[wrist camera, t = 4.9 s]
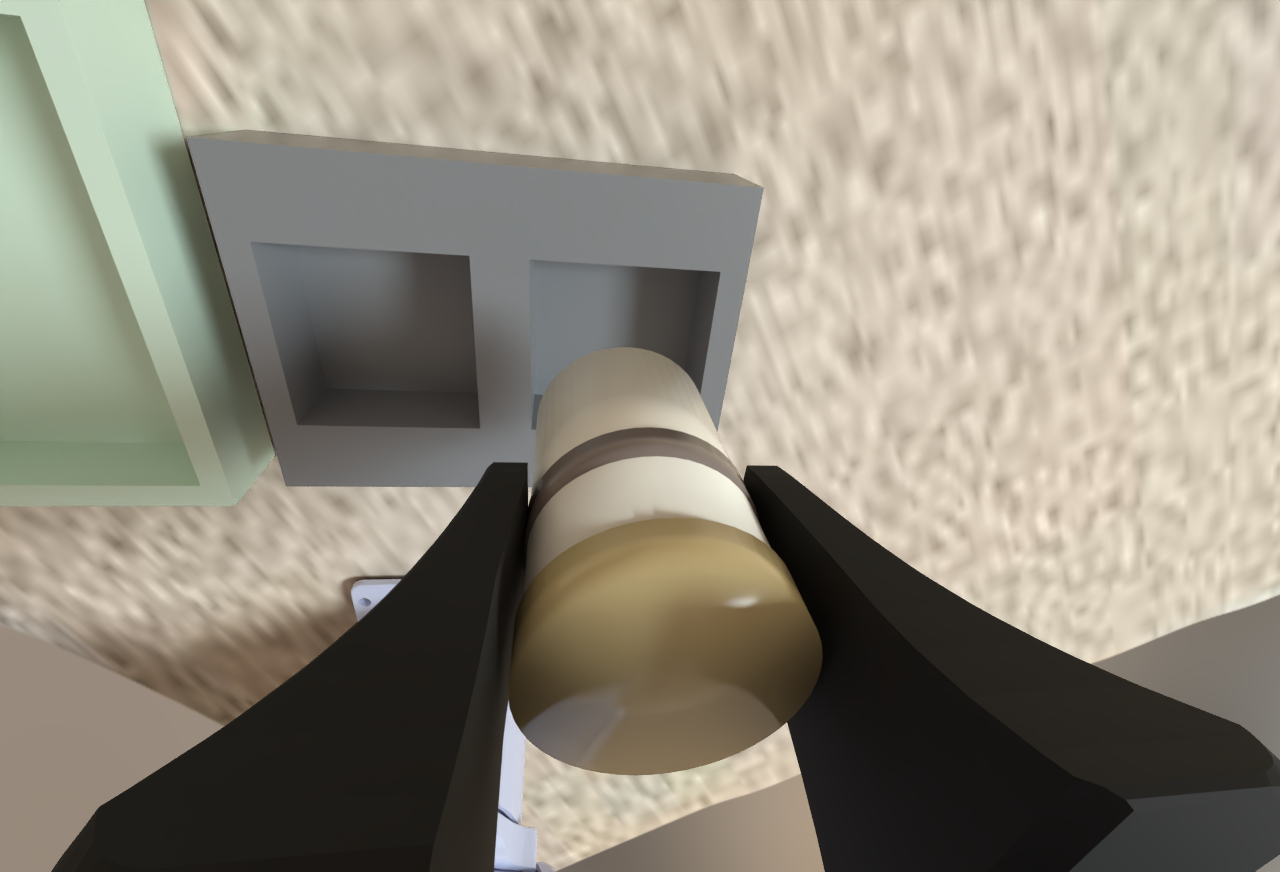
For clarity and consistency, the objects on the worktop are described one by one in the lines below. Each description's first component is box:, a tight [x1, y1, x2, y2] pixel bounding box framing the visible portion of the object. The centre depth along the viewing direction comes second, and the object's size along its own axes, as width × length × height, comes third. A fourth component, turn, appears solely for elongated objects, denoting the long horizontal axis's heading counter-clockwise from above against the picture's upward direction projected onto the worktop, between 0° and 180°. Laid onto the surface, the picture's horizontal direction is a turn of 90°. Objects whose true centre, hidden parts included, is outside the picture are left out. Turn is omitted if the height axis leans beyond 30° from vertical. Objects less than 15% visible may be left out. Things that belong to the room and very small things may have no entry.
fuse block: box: [186, 130, 764, 487], centre depth 18 cm, size 10×14×3 cm
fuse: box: [508, 347, 823, 775], centre depth 10 cm, size 4×4×7 cm
